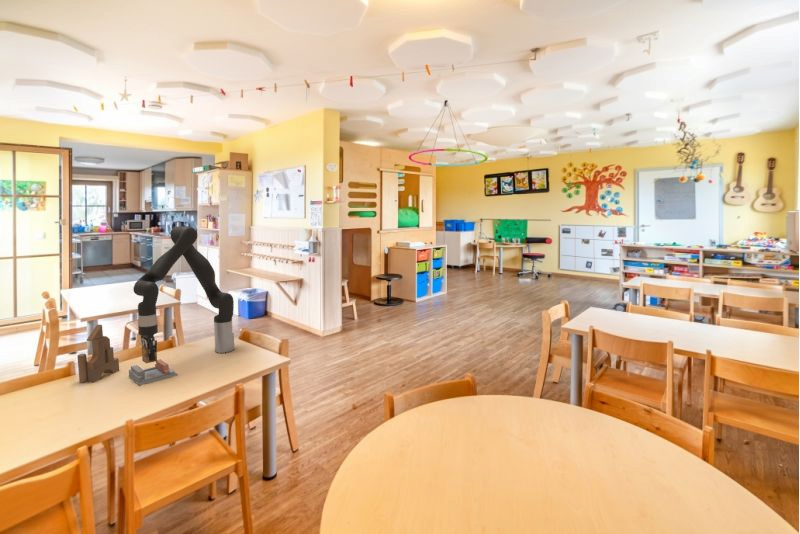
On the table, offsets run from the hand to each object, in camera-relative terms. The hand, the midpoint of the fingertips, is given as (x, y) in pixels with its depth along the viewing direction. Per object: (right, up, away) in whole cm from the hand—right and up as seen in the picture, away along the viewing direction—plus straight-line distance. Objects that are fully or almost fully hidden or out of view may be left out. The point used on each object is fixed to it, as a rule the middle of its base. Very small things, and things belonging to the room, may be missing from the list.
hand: (149, 358), depth 185 cm
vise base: (0, -9, +2) cm, 9 cm away
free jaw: (+3, -7, +5) cm, 9 cm away
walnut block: (0, -1, 0) cm, 1 cm away
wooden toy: (-24, -8, 0) cm, 25 cm away
